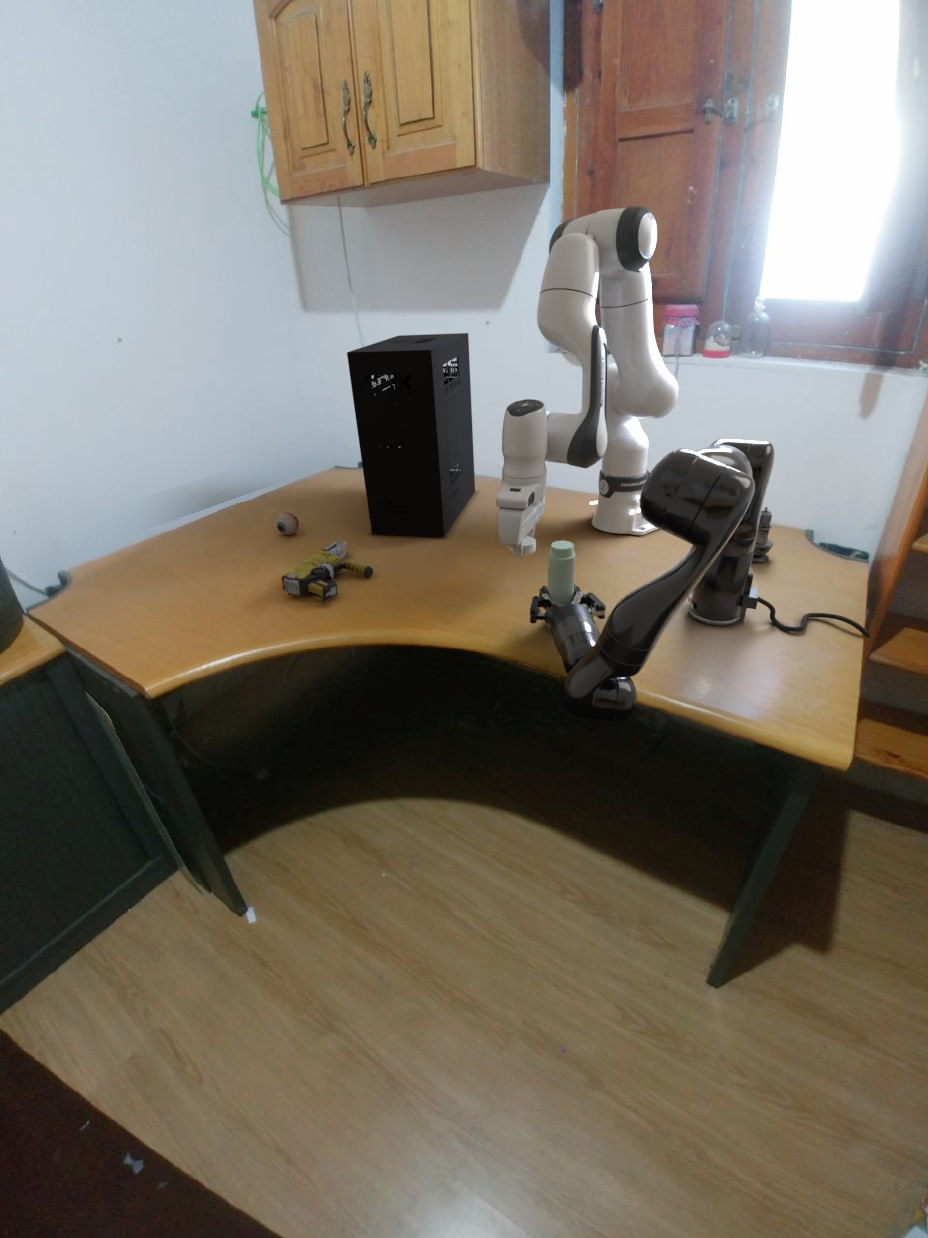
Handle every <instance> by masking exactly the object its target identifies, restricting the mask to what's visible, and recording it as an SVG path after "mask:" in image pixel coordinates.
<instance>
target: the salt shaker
mask: <svg viewBox="0 0 928 1238" xmlns="http://www.w3.org/2000/svg"><path fill="white" fill-rule="evenodd" d="M772 517H773V513H772V512H771V511H770V510H769V508H768V506H765V507H764V508H763V509H762V511H761V516H760V521H759V527H758V532H757V537H756V542H755V547H754V552H753V557H752V562H755V563H763V562H767V561H768V560H769V559H770V557H769V555H767V554H768V553H769V552H770V551H771V550H772V547H773V546H774V542H773V541H772V540H770V539H769V533H770V530H771V529H772V525H771V522H772Z"/></svg>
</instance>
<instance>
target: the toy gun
mask: <svg viewBox="0 0 928 1238" xmlns="http://www.w3.org/2000/svg"><path fill="white" fill-rule="evenodd" d="M345 548H348V543H347V542H346V541H343V540H342V541H341V540H339V539H338V540H335V541H334V542H333V543H331V544H330V545H327V546H326V547H325V548H321V549H320V550H318V551H317V552H316V553H314V554H312V555H311V556H310V557H307V559H305V560H304V561H302V562H300V563H299V564H298V565H296V566H294V567H293V568H291V569H290V570H288V571H287V572H285V573H284V574H282V576H281V585H282V586H281V587H282V590H283V591H284V592H285V593H287V596H292V597H295V596H302V597H303V596H307V595H310V594H315V595H318V596H320V597H322V601H323V602H325V603H327V602H328V601H330V600H332V599H333V598H335V597H337V596H338V594H339V593H338V582H337V581H336V580H334V578H335V577H334V575H336V574H337V573H340V572H342V571H343V570H346V571H349V572H353V573H355V574H358V575H361V576H364V577H366V578H370V577H372V576H373V575H374V569H373V567H372V566H370V565H365V564H361V563H359V562H357V561H352V560H349V559H347V560H345V561H344V562H342V560H343V558H344V557H347V556H348V554H349V553H348V549H346V552H344V549H345Z"/></svg>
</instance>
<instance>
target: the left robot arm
mask: <svg viewBox="0 0 928 1238" xmlns="http://www.w3.org/2000/svg"><path fill="white" fill-rule="evenodd" d="M657 241H658V226H657V221H656V218H655V216H654V215H653V213H652V212H651V211H650V209H649V208H648V207H645V206H640V205H628V206H626V207H622V208H619V207H618V208H610V209H607V208H606V209H602V210H598V211H596V212H594V213H590V214H587V215H584V216H583V215H582V216H580V217H578V218H570V219H568V220H565V221H563V222H562V223H560V224H559V225H558V226H556V228H555V229H554V231H553V232H552V235H551V238H550V240H549V243H548V258H547V261H546V264H545V268H544V272H543V274H542V275H543V276H542V279H541V283H540V284H541V285H540V290H539V296H538V302H537V310H536V323H537V328H538V330H539V332H540V334H541V335H542V337H543V338H544V339H545V340H546V342H548V343H549V344H551V345H552V346H554V347H555V348H557V349H559V350H561V351H563V352H564V353H567V354H569V355H571V356H573V357H574V358H576V359H577V361H578V362H579V363H580V366H581V371H582V375H581V377H582V378H581V379H582V380H581V381H582V382H581V383H582V384H581V410H580V412H579V413H564V412H555V411H549V410H547V409H546V406H545V403H544V402H542V401H541V400H538V399H532V398H527V399H521V400H515V401H513V402H511V404H509V405H508V406H506V409H505V411H504V416H503V421H502V430H501V453H502V456H503V464H502V465H503V466H502V469H501V481H500V486H499V489H498V492H497V494H496V496H495V506H496V507H497V508H498V513H497V526H498V527H497V529H498V539H499V542H500V544H501V546H504V547H513V549H514V553H513V557H514V558H516V559H521V558H522V557H523V556H524V555H525V554H524V548H523V546H522V543H523V539H524V538H525V537H526V536H529V537H532V538H534V535H535V530H536V525H537V524H538V523H539V521H540V520H541V519H542V518H543V516H544V514H545V511H546V505H545V503H546V499H545V498H546V495H547V479H548V478H547V476H548V475H547V474H548V473H547V471H548V470H547V467H546V466H547V465H546V462H548V463H556V464H557V463H558V464H564V465H569V466H573V467H576V468H580V469H589V468H590V467H592V466H594V465H595V464H597V463H598V462H599V461H601V468H600V470H599V474H598V492H599V493H598V498H597V500H594V501H590V502H589V505H596V507H595V511H594V514H593V517H592V520H591V525H592V526H593V527H594V528H595V529H597V530H599V531H601V532H605V533H611V534H623V535H625V534H626V535H632V536H633V535H634V536H645V535H646V534H650V533H652V532H654V531H657V530H659V529H658V528H656V527H655V526H653V525H651V524H650V523H649V522H648V521H646V520H645V519H644V518H643V516H642V514H641V511H640V495H641V491H642V488H643V485H644V483H645V481H646V479H647V477H648V475H649V474H650V472H651V471H649V470H648V469H647V466H648V458H649V457H648V456H649V446H650V442H649V437H648V435H647V434H646V432H645V431H644V430H643V428H642V426H641V423H640V420H655V419H662V418H664V417H667V415H669V414H670V413H671V412H672V411H673V409H674V408H675V406H676V404H677V402H678V399H679V393H680V390H679V389H680V388H679V383H678V380H677V378H675V376H674V375H673V374H672V373H671V372H670V371H669V370H668V368H667V367H666V365H665V363H664V361H663V358H662V356H661V353H660V351H659V348H658V344H657V340H656V335H655V330H654V316H653V315H654V313H653V312H654V311H653V291H652V277H651V271H650V266H649V265H650V264H649V262H650V260H651V259H652V257H653V255H654V252H655V249H656V246H657ZM598 290H599V291H598ZM598 292H599V310H600V311H599V312H600V324H601V325H600V326H599V325H598V322H597V318H596V303H597V297H598ZM608 352H609V353H610V355H611V357H612V358H613V359H614V362H615V363H614V362H613V363H608ZM639 419H640V420H639ZM523 554H524V555H523Z"/></svg>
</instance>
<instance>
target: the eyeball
mask: <svg viewBox="0 0 928 1238" xmlns="http://www.w3.org/2000/svg"><path fill="white" fill-rule="evenodd" d="M299 525H300V522H299V519H298V517H297V516H296V515H295V514H294V513H292V512H287V511H286V512H282V513H280V514H279V515H278V516H277V517H276V520H275V527H276V529H277V530H278V531H279V532H280V533H281V534H282V535H285V536H286V535H287V536H289V535H293V534H295V533H296V532H297V531H298V529H299Z"/></svg>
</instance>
